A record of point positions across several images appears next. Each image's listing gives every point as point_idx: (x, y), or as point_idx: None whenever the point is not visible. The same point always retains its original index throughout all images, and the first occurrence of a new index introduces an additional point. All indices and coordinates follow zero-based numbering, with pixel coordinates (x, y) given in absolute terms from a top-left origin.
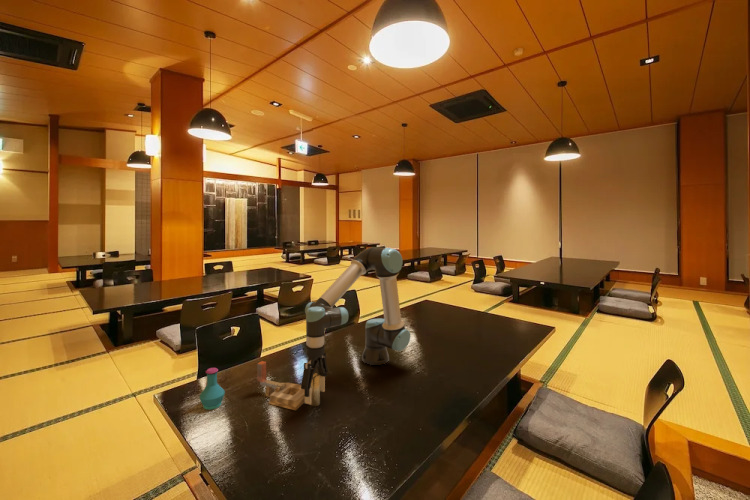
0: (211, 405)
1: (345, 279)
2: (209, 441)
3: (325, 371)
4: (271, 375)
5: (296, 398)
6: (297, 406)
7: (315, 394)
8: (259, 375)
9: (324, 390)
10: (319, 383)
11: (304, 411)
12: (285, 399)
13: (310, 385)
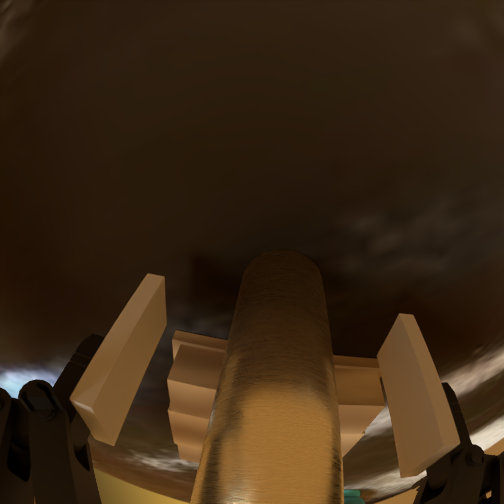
0: (363, 500)
1: None
2: (493, 436)
3: (15, 422)
4: (131, 456)
5: (350, 413)
6: (364, 368)
7: (331, 344)
8: None
9: (148, 279)
10: (282, 428)
11: (396, 313)
12: (357, 439)
13: (459, 477)
